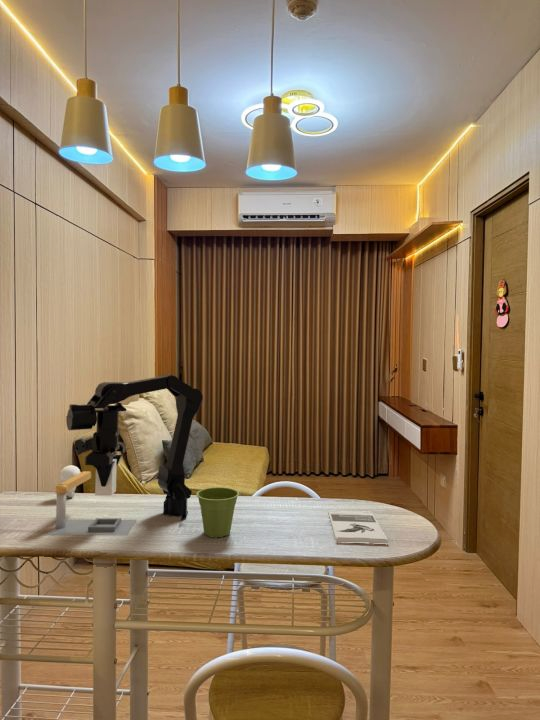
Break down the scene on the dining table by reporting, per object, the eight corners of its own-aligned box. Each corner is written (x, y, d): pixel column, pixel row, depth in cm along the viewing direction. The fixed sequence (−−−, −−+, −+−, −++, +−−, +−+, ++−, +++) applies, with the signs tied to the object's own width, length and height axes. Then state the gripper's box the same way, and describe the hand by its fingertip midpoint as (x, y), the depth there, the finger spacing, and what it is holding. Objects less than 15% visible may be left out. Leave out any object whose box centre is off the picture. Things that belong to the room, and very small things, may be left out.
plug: (115, 490, 133) (116, 459, 133) (111, 495, 128) (112, 462, 128) (99, 490, 132) (100, 458, 132) (95, 495, 128) (96, 462, 128)
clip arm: (64, 494, 128) (64, 486, 128) (53, 493, 128) (53, 486, 128) (91, 478, 145) (92, 471, 145) (82, 477, 146) (82, 471, 146)
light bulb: (75, 501, 156) (75, 468, 155) (55, 500, 156) (56, 467, 156) (83, 495, 162) (84, 463, 162) (64, 494, 162) (65, 463, 162)
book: (327, 516, 149) (327, 510, 149) (371, 517, 148) (371, 511, 148) (335, 545, 126) (335, 537, 126) (387, 546, 125) (387, 539, 125)
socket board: (137, 523, 137) (137, 487, 137) (127, 538, 125) (128, 500, 125) (63, 522, 135) (63, 487, 135) (46, 538, 123) (47, 499, 123)
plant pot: (191, 528, 134) (192, 488, 134) (231, 524, 138) (232, 485, 138) (200, 544, 123) (201, 500, 123) (243, 538, 127) (244, 497, 127)
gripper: (88, 422, 139) (87, 475, 139) (65, 432, 120) (63, 493, 120) (126, 423, 140) (125, 475, 140) (109, 433, 121) (108, 493, 121)
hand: (106, 484), depth 130 cm, fingers closed on plug, 4 cm apart
